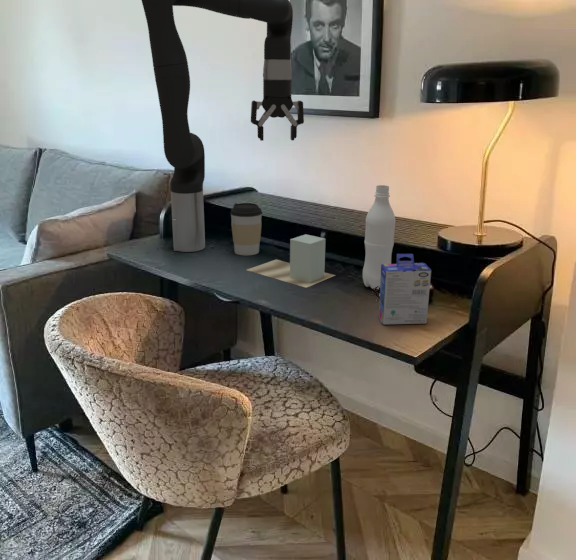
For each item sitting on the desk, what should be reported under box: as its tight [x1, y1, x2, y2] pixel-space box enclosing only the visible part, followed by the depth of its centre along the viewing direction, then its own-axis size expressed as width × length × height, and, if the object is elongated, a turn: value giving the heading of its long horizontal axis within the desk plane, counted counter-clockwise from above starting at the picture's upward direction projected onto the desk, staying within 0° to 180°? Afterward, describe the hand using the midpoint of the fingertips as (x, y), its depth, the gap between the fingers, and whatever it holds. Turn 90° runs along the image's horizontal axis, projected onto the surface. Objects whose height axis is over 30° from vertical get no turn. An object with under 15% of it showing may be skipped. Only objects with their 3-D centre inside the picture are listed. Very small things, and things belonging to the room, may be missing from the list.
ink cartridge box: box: [378, 253, 432, 325], centre depth 129 cm, size 10×6×14 cm, turn 95°
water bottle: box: [362, 184, 396, 290], centre depth 147 cm, size 7×7×25 cm
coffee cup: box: [229, 202, 263, 256], centre depth 171 cm, size 9×9×15 cm
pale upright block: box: [289, 233, 326, 283], centre depth 151 cm, size 6×6×10 cm
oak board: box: [246, 259, 336, 288], centre depth 156 cm, size 20×12×5 cm, turn 50°
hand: (277, 140), depth 166 cm, fingers open, 8 cm apart
